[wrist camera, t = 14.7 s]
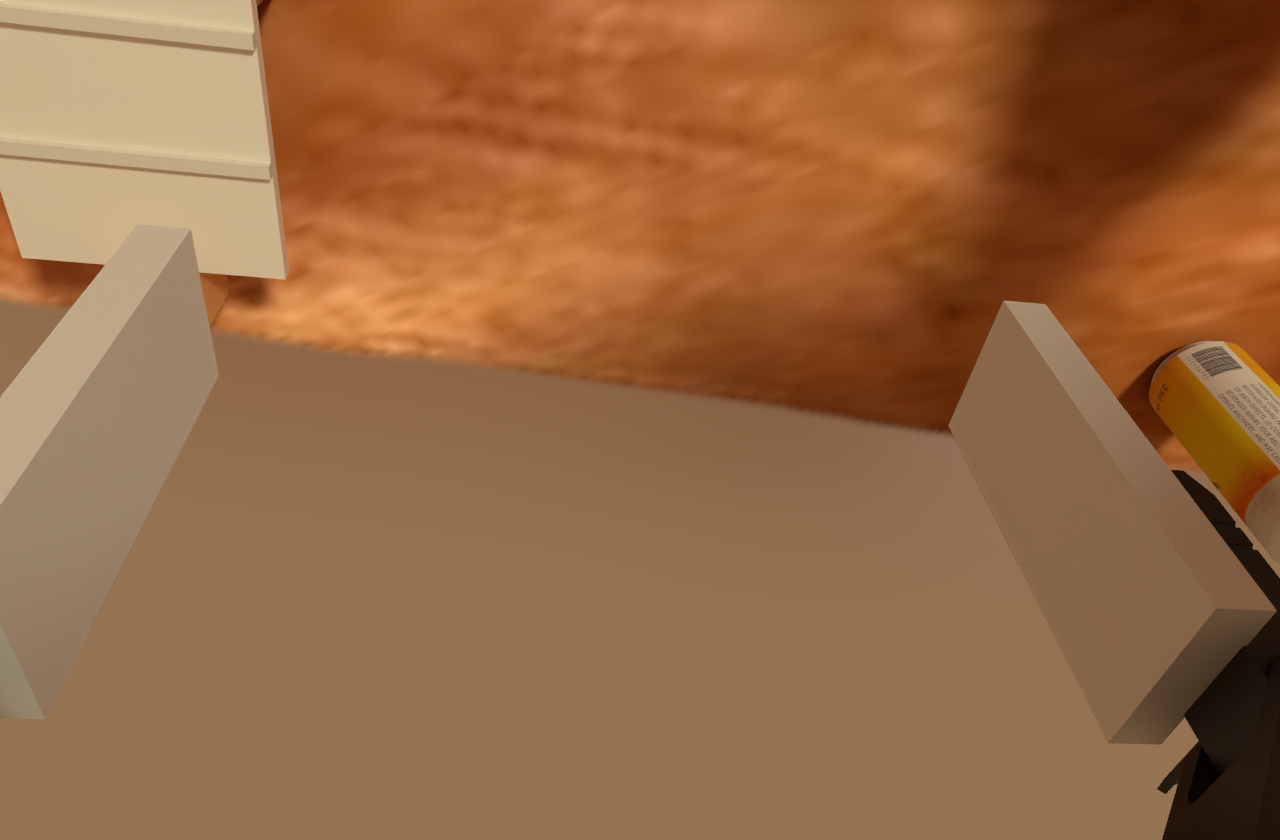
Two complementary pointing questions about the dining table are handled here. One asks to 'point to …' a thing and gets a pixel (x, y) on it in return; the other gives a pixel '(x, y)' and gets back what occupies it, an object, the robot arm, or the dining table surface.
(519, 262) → the dining table surface
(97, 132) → the lid
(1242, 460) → the beer can
